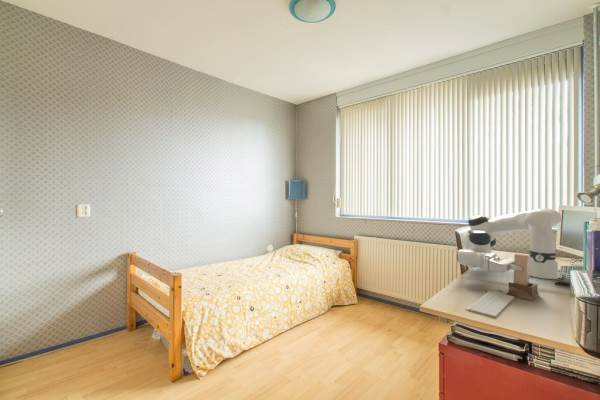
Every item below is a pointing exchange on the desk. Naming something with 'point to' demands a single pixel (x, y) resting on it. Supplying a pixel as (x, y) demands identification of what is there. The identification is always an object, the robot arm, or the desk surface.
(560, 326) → the desk surface
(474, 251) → the robot arm
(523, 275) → the clay strip
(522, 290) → the slotted wooden stand
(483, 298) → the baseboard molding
